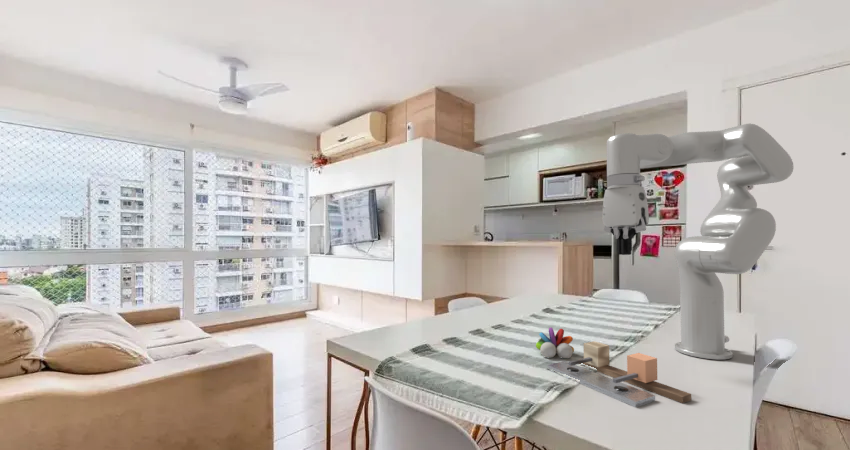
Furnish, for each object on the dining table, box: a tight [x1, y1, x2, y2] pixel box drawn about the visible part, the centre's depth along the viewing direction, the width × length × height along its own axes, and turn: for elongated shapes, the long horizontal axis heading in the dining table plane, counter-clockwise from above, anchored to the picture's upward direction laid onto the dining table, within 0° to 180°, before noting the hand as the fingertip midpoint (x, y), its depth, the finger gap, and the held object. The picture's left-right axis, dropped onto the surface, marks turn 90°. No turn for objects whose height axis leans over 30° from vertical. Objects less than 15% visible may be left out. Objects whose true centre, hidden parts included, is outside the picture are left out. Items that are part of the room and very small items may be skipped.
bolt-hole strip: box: [546, 360, 656, 408], centre depth 80 cm, size 6×22×1 cm, turn 27°
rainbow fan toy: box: [535, 327, 575, 359], centre depth 99 cm, size 8×10×7 cm
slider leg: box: [612, 352, 658, 383], centre depth 77 cm, size 11×4×4 cm, turn 117°
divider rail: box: [567, 340, 692, 404], centre depth 80 cm, size 11×24×6 cm, turn 27°
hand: (624, 254), depth 94 cm, fingers closed
